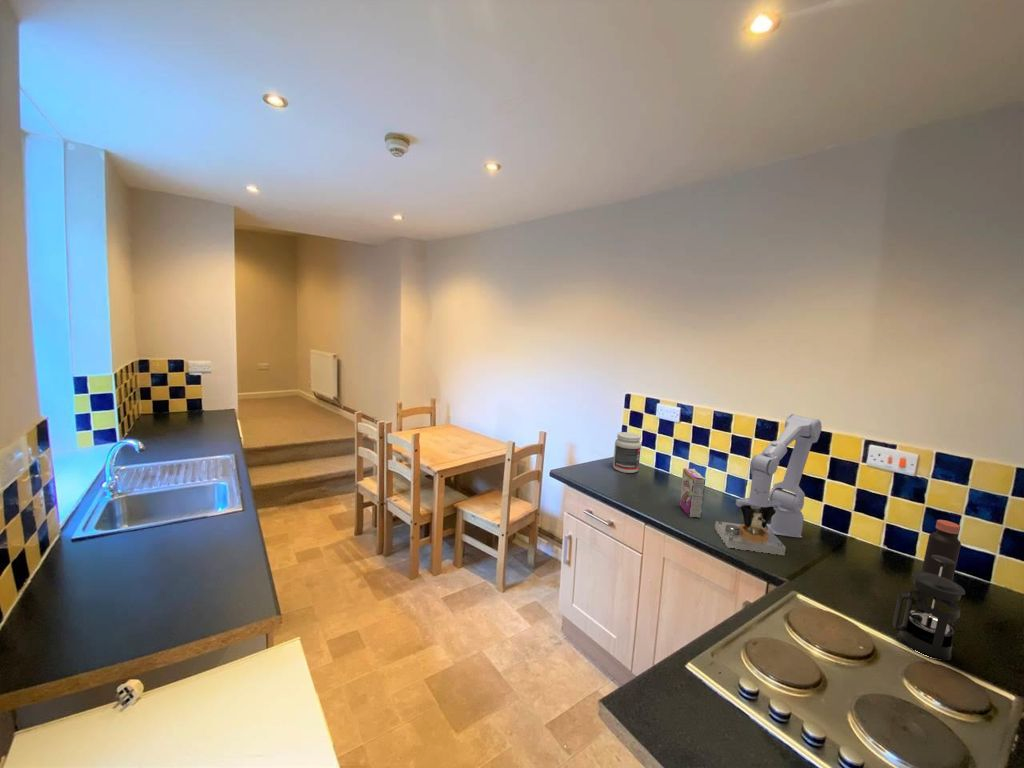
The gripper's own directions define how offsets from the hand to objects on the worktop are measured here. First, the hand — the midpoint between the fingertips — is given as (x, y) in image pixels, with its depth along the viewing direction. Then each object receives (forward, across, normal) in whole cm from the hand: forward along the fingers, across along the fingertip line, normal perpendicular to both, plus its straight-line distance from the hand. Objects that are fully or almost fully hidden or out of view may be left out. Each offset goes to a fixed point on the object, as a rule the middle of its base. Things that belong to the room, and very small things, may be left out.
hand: (754, 526), depth 149 cm
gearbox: (+6, +2, 0) cm, 6 cm away
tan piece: (+2, 0, +1) cm, 2 cm away
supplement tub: (+6, +26, -69) cm, 74 cm away
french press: (+6, -15, +47) cm, 50 cm away
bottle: (+6, -45, +21) cm, 50 cm away
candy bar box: (+6, +13, -22) cm, 27 cm away
